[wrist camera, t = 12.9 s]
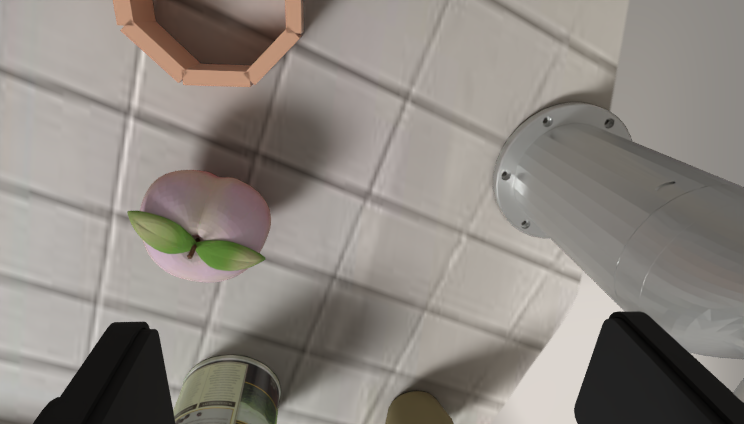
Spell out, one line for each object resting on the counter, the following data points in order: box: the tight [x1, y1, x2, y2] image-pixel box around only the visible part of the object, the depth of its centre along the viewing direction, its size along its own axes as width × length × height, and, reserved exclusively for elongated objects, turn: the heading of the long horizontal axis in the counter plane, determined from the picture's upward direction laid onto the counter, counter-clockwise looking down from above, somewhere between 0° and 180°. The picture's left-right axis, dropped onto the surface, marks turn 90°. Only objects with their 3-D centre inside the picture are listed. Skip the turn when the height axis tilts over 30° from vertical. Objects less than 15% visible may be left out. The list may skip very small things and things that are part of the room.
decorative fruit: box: [128, 170, 271, 283], centre depth 32 cm, size 9×8×10 cm
